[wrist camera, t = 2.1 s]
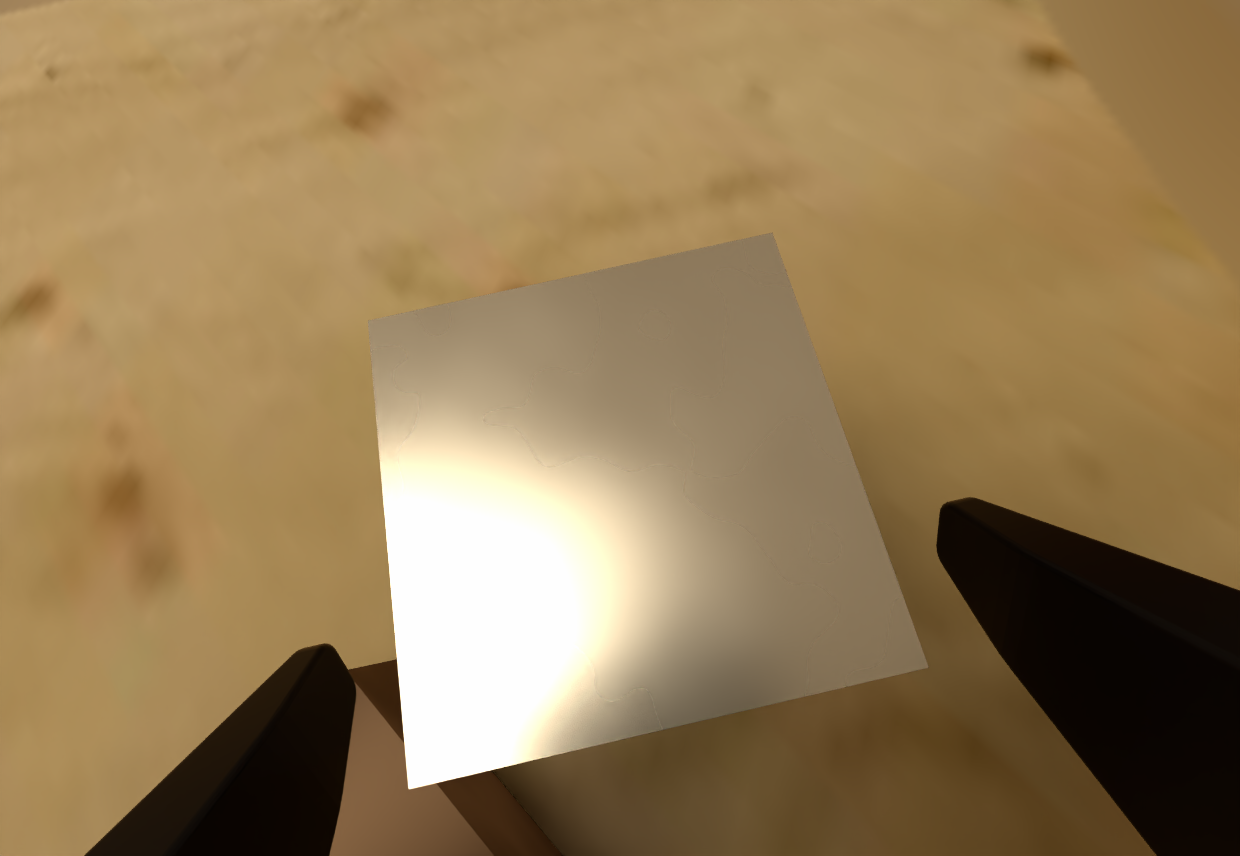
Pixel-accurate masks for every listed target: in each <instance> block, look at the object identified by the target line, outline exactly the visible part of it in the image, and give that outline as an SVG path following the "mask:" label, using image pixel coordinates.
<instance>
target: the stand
mask: <svg viewBox="0 0 1240 856" xmlns="http://www.w3.org/2000/svg"><path fill="white" fill-rule="evenodd" d="M348 671H349V672H350V674H351V675H352V677H353V679H354V682H355V685H356V703H355V710H354V717H353V725H352V732H351V739H350V746H349V753H348V761H347V768H346V775H345V782H344V789H343V795H342V801H341V807H340V812H339V817H338V821H337V826H336V830H335V834H334V838H333V843H332V847H331V851H330V855H329V856H562V854H561V853H560V852H559V851H558V850H557V848H556V847H555V846H554V845H553V844H552V843H551V841H550V840H549V839H548V838H547V837H546V835H545V834H544V833H543V832H542V831H541V829H540V828H539V827H538V826H537V825H536V823H535V822H534V821H533V820H532V819H531V817H530V816H529V815H528V814H527V813H526V811H525V810H524V809H523V808H522V807H521V805H520V804H519V803H518V802H517V801H516V799H515V798H514V797H513V796H512V795H511V794H510V792H509V791H508V790H507V789H506V788H505V786H504V785H503V784H502V783H501V782H500V780H499V779H498V778H497V777H496V776H495V774H494V773H493V772H492V771H491V770H489V771H485V772H480V773H476V774H472V775H468V776H463V777H459V778H455V779H451V780H446V781H442V782H438V783H433V784H429V785H425V786H421V787H416V788H412V789H409V788H408V776H407V765H406V753H405V742H404V730H403V719H402V707H401V696H400V684H399V673H398V661H397V660H392V661H387V662H382V663H378V664H373V665H368V666H364V667H359V668H354V669H349V670H348Z"/></svg>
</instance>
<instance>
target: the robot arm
mask: <svg viewBox="0 0 1240 856" xmlns="http://www.w3.org/2000/svg"><path fill="white" fill-rule="evenodd" d="M936 546H937V553H938V557H939V559H940V561H941V563H942V565H943V566H944V568H945V570H946V571H947V573H948V574H949V576H950V578H951V579H952V581H953V582H954V584H955V585H956V587H957V589H958V590H959V592H960V593H961V595H962V596H963V598H964V600H965V601H966V603H967V604H968V606H969V607H970V609H971V611H972V612H973V614H974V615H975V617H976V618H977V620H978V622H979V623H980V625H981V626H982V628H983V630H984V631H985V633H986V634H987V636H988V637H989V639H990V640H991V642H992V643H993V645H994V646H995V648H996V649H997V651H998V652H999V654H1000V655H1001V657H1002V658H1003V659H1004V661H1005V662H1006V663H1007V665H1008V666H1009V667H1010V669H1011V670H1012V671H1013V673H1014V674H1015V675H1016V676H1017V678H1018V679H1019V680H1020V682H1021V683H1022V684H1023V685H1024V687H1025V688H1026V689H1027V690H1028V692H1029V693H1030V694H1031V696H1032V697H1033V698H1034V699H1035V701H1036V702H1037V703H1038V705H1039V706H1040V707H1041V708H1042V710H1043V711H1044V712H1045V713H1046V715H1047V716H1048V717H1049V719H1050V720H1051V721H1052V722H1053V724H1054V725H1055V726H1056V728H1057V729H1058V730H1059V731H1060V733H1061V734H1062V735H1063V736H1064V738H1065V739H1066V740H1067V742H1068V743H1069V744H1070V745H1071V747H1072V748H1073V749H1074V751H1075V752H1076V753H1077V754H1078V756H1079V757H1080V758H1081V759H1082V761H1083V762H1084V763H1085V765H1086V766H1087V767H1088V768H1089V770H1090V771H1091V772H1092V774H1093V775H1094V776H1095V777H1096V779H1097V780H1098V781H1099V782H1100V784H1101V785H1102V786H1103V788H1104V789H1105V790H1106V791H1107V793H1108V794H1109V795H1110V797H1111V798H1112V799H1113V800H1114V802H1115V803H1116V804H1117V806H1118V807H1119V808H1120V809H1121V811H1122V812H1123V813H1124V814H1125V816H1126V817H1127V818H1128V820H1129V821H1130V822H1131V823H1132V825H1133V826H1134V827H1135V829H1136V830H1137V831H1138V832H1139V834H1140V835H1141V836H1142V837H1143V839H1144V840H1145V841H1146V843H1147V844H1148V845H1149V846H1150V848H1151V849H1152V850H1153V852H1154V853H1155V854H1156V855H1157V856H1240V590H1237V589H1234V588H1231V587H1228V586H1225V585H1223V584H1220V583H1217V582H1214V581H1211V580H1208V579H1206V578H1203V577H1200V576H1197V575H1194V574H1191V573H1188V572H1186V571H1183V570H1180V569H1177V568H1174V567H1171V566H1168V565H1166V564H1163V563H1160V562H1157V561H1154V560H1151V559H1148V558H1146V557H1143V556H1140V555H1137V554H1134V553H1131V552H1128V551H1126V550H1123V549H1120V548H1117V547H1114V546H1111V545H1108V544H1106V543H1103V542H1100V541H1097V540H1094V539H1091V538H1089V537H1086V536H1083V535H1080V534H1077V533H1074V532H1071V531H1069V530H1066V529H1063V528H1060V527H1057V526H1054V525H1051V524H1049V523H1046V522H1043V521H1040V520H1037V519H1034V518H1031V517H1029V516H1026V515H1023V514H1020V513H1017V512H1014V511H1011V510H1009V509H1006V508H1003V507H1000V506H997V505H994V504H991V503H989V502H986V501H983V500H980V499H977V498H972V497H969V498H963V499H959V500H954V501H950V502H947V503H945V504H943V506H942V507H941V509H940V515H939V525H938V534H937V544H936ZM355 703H356V685H355V682H354V679H353V677H352V675H351V674H350V672H349V671H348V669H347V667H346V666H345V664H344V662H343V661H342V659H341V658H340V656H339V654H338V653H337V651H336V649H335V648H334V647H333V646H332V645H330V644H320V645H315V646H311V647H306V648H303V649H300V650H298V651H297V652H295V653H294V654H293V655H292V656H291V657H290V658H289V659H288V660H287V661H286V662H285V663H284V664H283V665H282V666H281V667H280V668H279V669H277V670H276V671H275V672H274V673H273V674H272V675H271V676H270V677H269V678H268V679H267V680H266V681H265V682H264V683H263V684H262V685H261V686H260V687H259V688H258V689H257V690H256V691H255V692H254V693H253V694H252V695H250V696H249V697H248V698H247V699H246V700H245V701H244V702H243V703H242V704H241V705H240V706H239V707H238V708H237V709H236V710H235V711H234V712H233V713H232V714H231V715H230V716H229V717H228V718H227V719H226V720H225V721H224V722H222V723H221V724H220V725H219V726H218V727H217V728H216V729H215V730H214V731H213V732H212V733H211V734H210V735H209V736H208V737H207V738H206V739H205V740H204V741H203V742H202V743H201V744H200V745H199V746H198V747H196V748H195V749H194V750H193V751H192V752H191V753H190V754H189V755H188V756H187V757H186V758H185V759H184V760H183V761H182V762H181V763H180V764H179V765H178V766H177V767H176V768H175V769H174V770H173V771H172V772H171V773H169V774H168V775H167V776H166V777H165V778H164V779H163V780H162V781H161V782H160V783H159V784H158V785H157V786H156V787H155V788H154V789H153V790H152V791H151V792H150V793H149V794H148V795H147V796H146V797H145V798H144V799H142V800H141V801H140V802H139V803H138V804H137V805H136V806H135V807H134V808H133V809H132V810H131V811H130V812H129V813H128V814H127V815H126V816H125V817H124V818H123V819H122V820H121V821H120V822H119V823H118V824H117V825H115V826H114V827H113V828H112V829H111V830H110V831H109V832H108V833H107V834H106V835H105V836H104V837H103V838H102V839H101V840H100V841H99V842H98V843H97V844H96V845H95V846H94V847H93V848H92V849H91V850H89V851H88V852H87V853H86V854H85V855H84V856H329V855H330V851H331V847H332V843H333V838H334V834H335V830H336V826H337V821H338V817H339V812H340V807H341V801H342V795H343V789H344V782H345V775H346V768H347V761H348V753H349V746H350V739H351V732H352V725H353V717H354V710H355Z"/></svg>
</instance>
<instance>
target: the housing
mask: <svg viewBox="0 0 1240 856" xmlns="http://www.w3.org/2000/svg"><path fill="white" fill-rule="evenodd" d="M368 328H369V339H370V351H371V362H372V374H373V385H374V397H375V408H376V420H377V431H378V443H379V454H380V466H381V477H382V489H383V500H384V512H385V523H386V535H387V546H388V558H389V569H390V581H391V592H392V604H393V615H394V627H395V638H396V650H397V661H398V673H399V684H400V696H401V707H402V719H403V730H404V742H405V753H406V765H407V776H408V788H409V789H412V788H416V787H421V786H425V785H429V784H433V783H438V782H442V781H446V780H451V779H455V778H459V777H463V776H468V775H472V774H476V773H480V772H485V771H489V770H493V769H498V768H502V767H506V766H510V765H515V764H519V763H523V762H527V761H532V760H536V759H540V758H545V757H549V756H553V755H557V754H562V753H566V752H570V751H575V750H579V749H583V748H587V747H592V746H596V745H600V744H604V743H609V742H613V741H617V740H622V739H626V738H630V737H634V736H639V735H643V734H647V733H652V732H656V731H660V730H664V729H669V728H673V727H677V726H681V725H686V724H690V723H694V722H699V721H703V720H707V719H711V718H716V717H720V716H724V715H729V714H733V713H737V712H741V711H746V710H750V709H754V708H758V707H763V706H767V705H771V704H776V703H780V702H784V701H788V700H793V699H797V698H801V697H806V696H810V695H814V694H818V693H823V692H827V691H831V690H835V689H840V688H844V687H848V686H853V685H857V684H861V683H865V682H870V681H874V680H878V679H882V678H887V677H891V676H895V675H900V674H904V673H908V672H912V671H917V670H921V669H925V668H929V667H928V664H927V661H926V658H925V656H924V653H923V650H922V647H921V644H920V642H919V639H918V636H917V633H916V631H915V628H914V625H913V622H912V619H911V617H910V614H909V611H908V608H907V606H906V603H905V600H904V597H903V594H902V592H901V589H900V586H899V583H898V581H897V578H896V575H895V572H894V569H893V567H892V564H891V561H890V558H889V556H888V553H887V550H886V547H885V544H884V542H883V539H882V536H881V533H880V531H879V528H878V525H877V522H876V519H875V517H874V514H873V511H872V508H871V506H870V503H869V500H868V497H867V494H866V492H865V489H864V486H863V483H862V481H861V478H860V475H859V472H858V469H857V467H856V464H855V461H854V458H853V456H852V453H851V450H850V447H849V444H848V442H847V439H846V436H845V433H844V431H843V428H842V425H841V422H840V419H839V417H838V414H837V411H836V408H835V406H834V403H833V400H832V397H831V394H830V392H829V389H828V386H827V383H826V381H825V378H824V375H823V372H822V369H821V367H820V364H819V361H818V358H817V356H816V353H815V350H814V347H813V344H812V342H811V339H810V336H809V333H808V331H807V328H806V325H805V322H804V319H803V317H802V314H801V311H800V308H799V306H798V303H797V300H796V297H795V294H794V292H793V289H792V286H791V283H790V281H789V278H788V275H787V272H786V269H785V267H784V264H783V261H782V258H781V256H780V253H779V250H778V247H777V244H776V242H775V239H774V236H773V233H769V234H764V235H759V236H755V237H750V238H746V239H741V240H736V241H732V242H727V243H723V244H718V245H713V246H709V247H704V248H700V249H695V250H690V251H686V252H681V253H677V254H672V255H667V256H663V257H658V258H654V259H649V260H644V261H640V262H635V263H631V264H626V265H621V266H617V267H612V268H608V269H603V270H598V271H594V272H589V273H585V274H580V275H575V276H571V277H566V278H562V279H557V280H552V281H548V282H543V283H539V284H534V285H529V286H525V287H520V288H516V289H511V290H506V291H502V292H497V293H493V294H488V295H483V296H479V297H474V298H470V299H465V300H461V301H456V302H451V303H447V304H442V305H438V306H433V307H428V308H424V309H419V310H415V311H410V312H405V313H401V314H396V315H392V316H387V317H382V318H378V319H373V320H369V321H368Z"/></svg>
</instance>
